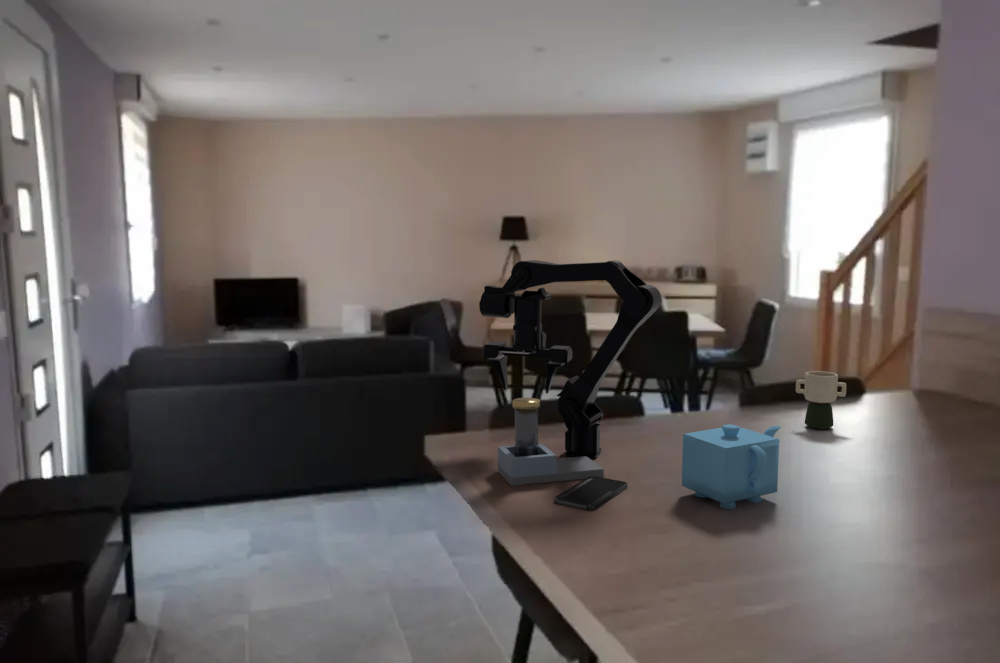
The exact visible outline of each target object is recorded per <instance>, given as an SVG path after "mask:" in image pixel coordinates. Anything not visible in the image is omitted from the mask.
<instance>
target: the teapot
mask: <svg viewBox="0 0 1000 663" xmlns="http://www.w3.org/2000/svg"><path fill="white" fill-rule="evenodd" d="M781 428H782V427H781V426H779V425H775V426H770V427H768V428H767V429H766V430H765V431H764V432H763V433H761V432H758V431H754V430H750V429H749V428H748V429H747V428H744V427H741V426H738V425H735V424H728V423H727V424H723V425H721V427H719V428H716V427H715V428H711V429H705V430H698V431H692V432H688V433H687V432H686V433H683V434H682V453H681V455H682V459H681V460H682V461H681V463H682V464H681V486H682V487H684V488H686V489H689V490H690V491H694V492H695V493H694V496H695V497H698V498H702V499H703V498H704V499H705V498H709V499H712V500H713V501H716V502H718V503H720V505H719V507H721V508H722V509H725V510H734V509H736V508H737V507H736V502H740V501H742V500H743V501H744V500H747V501H748V502H750V503H753V504H754V503H756V504H759V503H763V502H764V500H763V498H762V496H766V495H771V494H774V493H777V492H778V480H779V457H780V439H779V438H777V437H775V434H777V432H778V431H779V430H780V429H781Z"/></svg>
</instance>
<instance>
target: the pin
mask: <svg viewBox="0 0 1000 663" xmlns="http://www.w3.org/2000/svg"><path fill="white" fill-rule="evenodd" d="M512 408H513V409H514V445H515V457H522V456H533V455H538V443H539V409H540V408H541V400H540V399H539V398H534V397H518V398H514V399H512Z"/></svg>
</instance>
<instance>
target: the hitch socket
mask: <svg viewBox="0 0 1000 663" xmlns="http://www.w3.org/2000/svg"><path fill="white" fill-rule="evenodd" d="M497 472H498V473H499V475H501V477H503V478H504V480H505V481H506V482H507V483H508V485H510V486H511V487H513V486H522V485H532V484H542V483H543V484H544V483H553V482H561V481H562V482H564V481H572V480H573V481H574V480H585V479H586V478H588V477H591V476H597V477H602V478H605V477H604V476H605V475H604V474H605V468H603V467H602V466H600V465H599V464H598V463H596V462H595V461H594V460H593V459H592V458H588V457H587V456H581V457H574V456H569V457H561V458H557V454H556V453H554V452H553V451H552V450H550V448H548V447H546V446H545V444H543V443H542V442H538V455H533V456H522V457H515V444H514V445H513V444H512V445H503V446H501V445H500V446H497Z"/></svg>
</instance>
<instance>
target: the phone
mask: <svg viewBox="0 0 1000 663" xmlns="http://www.w3.org/2000/svg"><path fill="white" fill-rule="evenodd" d="M627 489H628V482H626V481H622V480H618V479H611V478H608V477H607V478H605V477H597V476H591V477H588V478H584V479H582V480H581V481H580V482H578V483H576V484H574V485H573V486H571V487H569V488H568V489H566V490H564V491H562V492H561V493H559V494H558V495H556V496H554V497H553V498H554V499H553V500H554V504H556V505H561V506H565V507H568V508H574V509H578V510H583V511H587V512H589V511H593V512H594V511H596V510H597V509H599V508H601V506H603V505H605V504H606V503H608V502H609V501H610V500H613V498H615V497H617V495H619V494H621V493H622V492H623V491H624V492H625V490H627Z"/></svg>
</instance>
